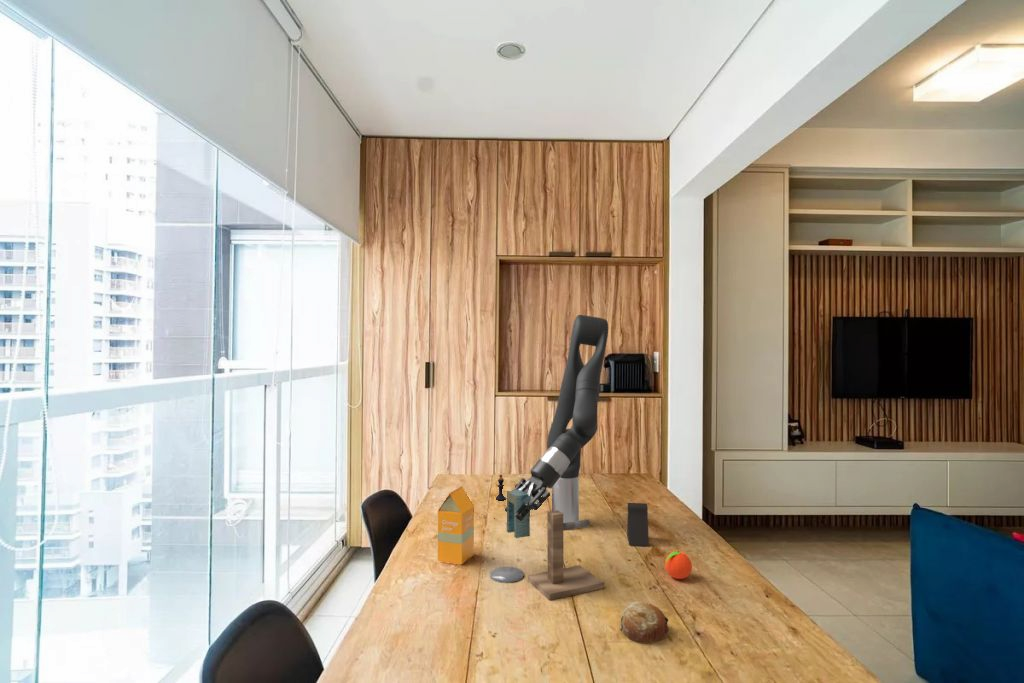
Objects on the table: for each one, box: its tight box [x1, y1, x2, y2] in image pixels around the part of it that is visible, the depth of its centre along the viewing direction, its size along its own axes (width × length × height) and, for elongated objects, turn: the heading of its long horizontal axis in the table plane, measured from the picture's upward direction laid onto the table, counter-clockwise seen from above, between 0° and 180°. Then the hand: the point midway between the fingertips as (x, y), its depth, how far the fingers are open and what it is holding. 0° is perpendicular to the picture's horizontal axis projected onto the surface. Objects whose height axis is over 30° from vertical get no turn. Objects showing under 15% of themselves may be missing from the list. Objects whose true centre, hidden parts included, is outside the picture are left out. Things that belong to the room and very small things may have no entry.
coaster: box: [489, 566, 525, 584], centre depth 146 cm, size 9×9×1 cm
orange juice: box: [437, 486, 475, 565], centre depth 158 cm, size 8×9×20 cm
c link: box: [506, 490, 531, 539], centre depth 147 cm, size 6×4×11 cm, turn 25°
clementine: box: [664, 550, 693, 580], centre depth 144 cm, size 8×7×7 cm
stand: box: [527, 510, 606, 601], centre depth 140 cm, size 12×16×19 cm
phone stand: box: [626, 502, 650, 547], centre depth 172 cm, size 9×6×12 cm, turn 172°
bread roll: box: [619, 600, 669, 644], centre depth 117 cm, size 10×10×8 cm
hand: (512, 515), depth 146 cm, fingers closed on c link, 6 cm apart
